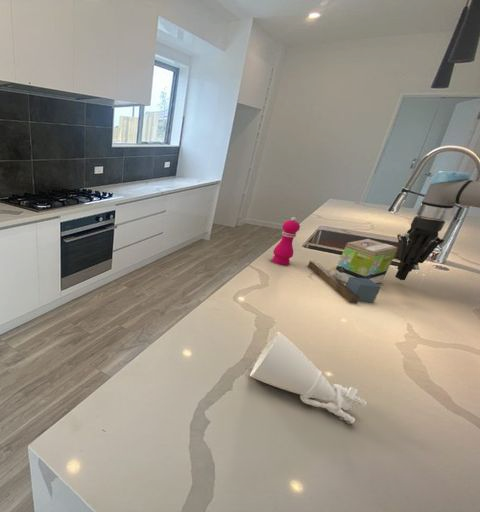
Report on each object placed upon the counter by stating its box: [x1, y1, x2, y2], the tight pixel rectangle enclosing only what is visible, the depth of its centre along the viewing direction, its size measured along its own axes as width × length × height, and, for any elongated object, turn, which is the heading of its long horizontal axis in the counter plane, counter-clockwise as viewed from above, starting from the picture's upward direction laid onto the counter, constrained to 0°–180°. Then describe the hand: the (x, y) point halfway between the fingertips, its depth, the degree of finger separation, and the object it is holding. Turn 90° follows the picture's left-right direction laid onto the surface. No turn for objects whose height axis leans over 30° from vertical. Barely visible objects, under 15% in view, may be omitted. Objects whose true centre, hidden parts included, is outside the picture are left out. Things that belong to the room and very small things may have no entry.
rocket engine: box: [249, 331, 368, 424], centre depth 61 cm, size 12×12×18 cm
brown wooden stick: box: [307, 260, 360, 305], centre depth 111 cm, size 30×2×2 cm, turn 169°
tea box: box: [332, 238, 398, 284], centre depth 111 cm, size 15×10×15 cm, turn 115°
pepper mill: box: [271, 216, 301, 266], centre depth 124 cm, size 7×7×20 cm
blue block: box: [345, 277, 381, 304], centre depth 101 cm, size 6×6×6 cm
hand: (399, 278), depth 112 cm, fingers closed
